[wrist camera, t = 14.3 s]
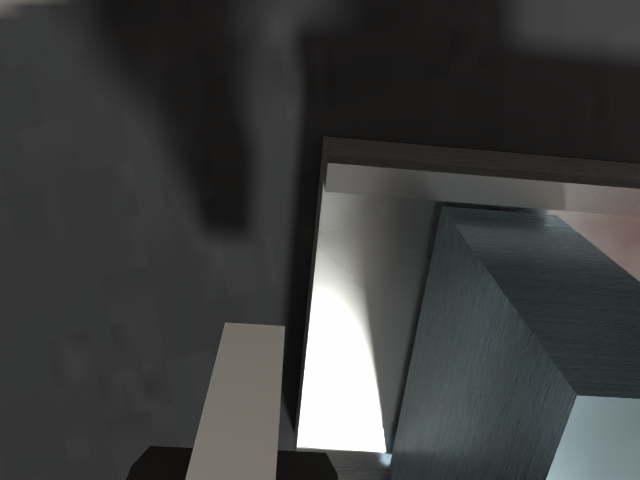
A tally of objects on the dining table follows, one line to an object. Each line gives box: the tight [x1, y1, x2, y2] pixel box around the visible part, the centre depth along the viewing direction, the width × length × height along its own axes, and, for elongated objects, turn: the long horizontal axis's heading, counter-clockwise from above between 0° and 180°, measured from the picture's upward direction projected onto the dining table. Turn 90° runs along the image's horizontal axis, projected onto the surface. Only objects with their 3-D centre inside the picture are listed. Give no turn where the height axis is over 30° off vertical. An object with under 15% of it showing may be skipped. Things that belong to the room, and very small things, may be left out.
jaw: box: [389, 206, 640, 480], centre depth 12 cm, size 3×9×7 cm, turn 175°
